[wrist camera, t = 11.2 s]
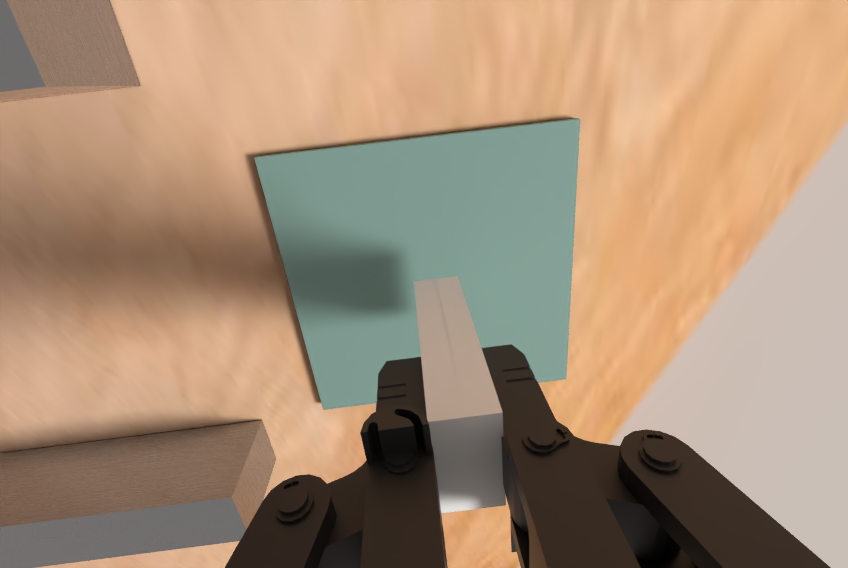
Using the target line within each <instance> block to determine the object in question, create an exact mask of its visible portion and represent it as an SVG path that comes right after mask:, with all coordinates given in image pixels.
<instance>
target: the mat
mask: <svg viewBox="0 0 848 568" xmlns="http://www.w3.org/2000/svg"><path fill="white" fill-rule="evenodd" d="M579 131H580V119H577V118H573V119H564V120H556V121H547V122H539V123H531V124H522V125H514V126H505V127H497V128H489V129H480V130H472V131H463V132H455V133H446V134H438V135H430V136H421V137H413V138H404V139H396V140H388V141H379V142H371V143H362V144H354V145H345V146H337V147H329V148H320V149H312V150H303V151H295V152H287V153H278V154H270V155H261V156H257V157H255V158H254V159H255V163H256V167H257V170H258V174H259V178H260V181H261V185H262V188H263V192H264V196H265V199H266V203H267V207H268V210H269V214H270V218H271V221H272V225H273V229H274V232H275V236H276V239H277V243H278V247H279V250H280V254H281V258H282V261H283V265H284V269H285V272H286V276H287V280H288V283H289V287H290V291H291V294H292V298H293V301H294V305H295V309H296V312H297V316H298V320H299V323H300V327H301V331H302V334H303V338H304V342H305V345H306V349H307V352H308V356H309V360H310V363H311V367H312V371H313V374H314V378H315V382H316V385H317V389H318V393H319V396H320V400H321V404H322V407H323V410H326V409H333V408H341V407H349V406H357V405H365V404H373V403H377V390H378V373H379V372H380V370H381V369H382V367H383V366H384V364H385V362H386V361H391V360H399V359H407V358H415V357H421V351H420V341H419V330H418V320H417V310H416V299H415V289H414V281H421V280H429V279H437V278H445V277H454V276H458V278H459V281H460V284H461V287H462V290H463V294H464V297H465V300H466V303H467V306H468V309H469V312H470V315H471V318H472V321H473V324H474V327H475V330H476V333H477V336H478V339H479V342H480V345H481V348H485V347H493V346H501V345H510V344H512V345H513V346H514V347H516V348H517V349H518V350H520V351H521V352H522V353H523V354H524V355H525V357H526V359H527V361H528V363H529V365H530V369H532V371H533V374H534V376H535V379H536V380H537V382H538V383H539V382H547V381H555V380H563V379H566V373H567V355H568V336H569V317H570V299H571V280H572V262H573V243H574V224H575V206H576V187H577V169H578V150H579Z"/></svg>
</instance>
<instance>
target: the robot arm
mask: <svg viewBox="0 0 848 568" xmlns="http://www.w3.org/2000/svg"><path fill="white" fill-rule="evenodd" d="M414 289H415V299H416V310H417V320H418V330H419V341H420V351H421V357H415V358H407V359H399V360H391V361H386V362H385V364H384V366H383V367H382V369H381V370H380V372H379V373H378V390H377V405H376V412H375V413H373V414H371V416H370V417H369V418H368V419H367V420H366V421H365V422H364V424H363V427H362V430H361V437H362V442H363V446H364V450H365V455H366V459H367V461H366V462H365V463H364V464H363V465H362V466H361V467H360V468H358V469H357V470H356V471H354V472H353V473H351V474H349V475H347V476H345V477H343V478H340V479H338V480H335V481H333V482H331V483H328V484H326V483H325V482H324V481H323V480H322V479H321V478H320V477H316V476H313V475H299V476H295V477H292V478H290V479H287V480H285V481H283V482H281V483H280V484H279V485H277V486H276V487H275V488H273V489H272V490H271V491H270V492H269V494H268V495H267V496H266V498H265V499H264V500H263V501H262V503H261V505H260V507H259V508H258V510H257V512H256V514H255V515H254V517H253V519H252V521H251V522H250V524H249V526H248V528H247V529H246V531H245V533H244V535H243V537H242V538H241V540H240V542H239V544H238V545H237V547H236V549H235V551H234V552H233V554H232V556H231V558H230V559H229V561H228V563H227V565H226V566H225V568H447V559H446V550H445V541H444V533H443V525H442V517H441V513H448V512H456V511H464V510H472V509H479V508H487V507H495V506H503V505H506V500H505V494H506V497H507V501H508V505H509V508H510V513H511V547H512V552H517V554H518V558H519V562H520V566H521V568H830V567H829V566H828V565H827V564H826V563H824V562H823V561H822V560H821V559H820V558H818V556H816V555H815V554H814V553H813V552H812V551H811V550H809V549H808V548H807V547H806V546H805V545H803V544H802V543H801V542H800V541H799V540H798V539H796V538H795V537H794V536H793V535H792V534H791V533H790V532H788V531H787V530H786V529H784V527H782V526H781V525H780V524H779V523H778V522H777V521H775V520H774V519H773V518H772V517H771V516H770V515H768V514H767V513H766V512H765V511H764V510H763V509H761V508H760V507H759V506H758V505H757V504H755V503H754V502H753V501H752V500H751V499H750V498H749V497H747V496H746V495H745V494H744V493H743V492H742V491H740V490H739V489H738V488H737V487H736V486H735V485H733V484H732V483H731V482H730V481H729V480H728V479H726V478H725V477H724V476H723V475H722V474H721V473H719V472H718V471H717V470H716V469H715V468H714V467H712V466H711V465H710V464H709V463H708V462H706V461H705V460H704V459H703V458H702V457H701V456H699V455H698V454H697V453H696V452H695V451H694V450H693V449H691V448H690V447H689V446H688V445H686V444H685V443H683V442H682V441H680V440H679V439H677V438H676V437H674V436H671V435H668V434H666V433H663V432H660V431H652V430H641V431H634V432H632V433H630V434H629V435H627V436H625V437H624V439H623V441H622V443H621V445H620V446H615V445H608V444H600V443H594V442H589V441H585V440H582V439H580V438H577V437H575V436H573V434H572V433H571V432H570V431H569V429H568V428H567V427H565V426H564V425H562V424H561V423H559V422H557V421H556V419H555V417H554V415H553V413H552V411H551V409H550V407H549V405H548V403H547V401H546V399H545V396H544V394H543V392H542V390H541V388H540V386H539V384H538V382H537V380H536V379H535V376H534V374H533V371H532V369H530V365H529V363H528V361H527V359H526V357H525V355H524V354H523V353H522V352H521V351H520V350H518V349H517V348H516V347H514V346H513V345H512V344H510V345H501V346H493V347H485V348H481V345H480V342H479V339H478V336H477V333H476V330H475V327H474V324H473V321H472V318H471V315H470V312H469V309H468V306H467V303H466V300H465V297H464V294H463V290H462V287H461V284H460V281H459V278H458V276H454V277H445V278H437V279H429V280H421V281H414Z"/></svg>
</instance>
